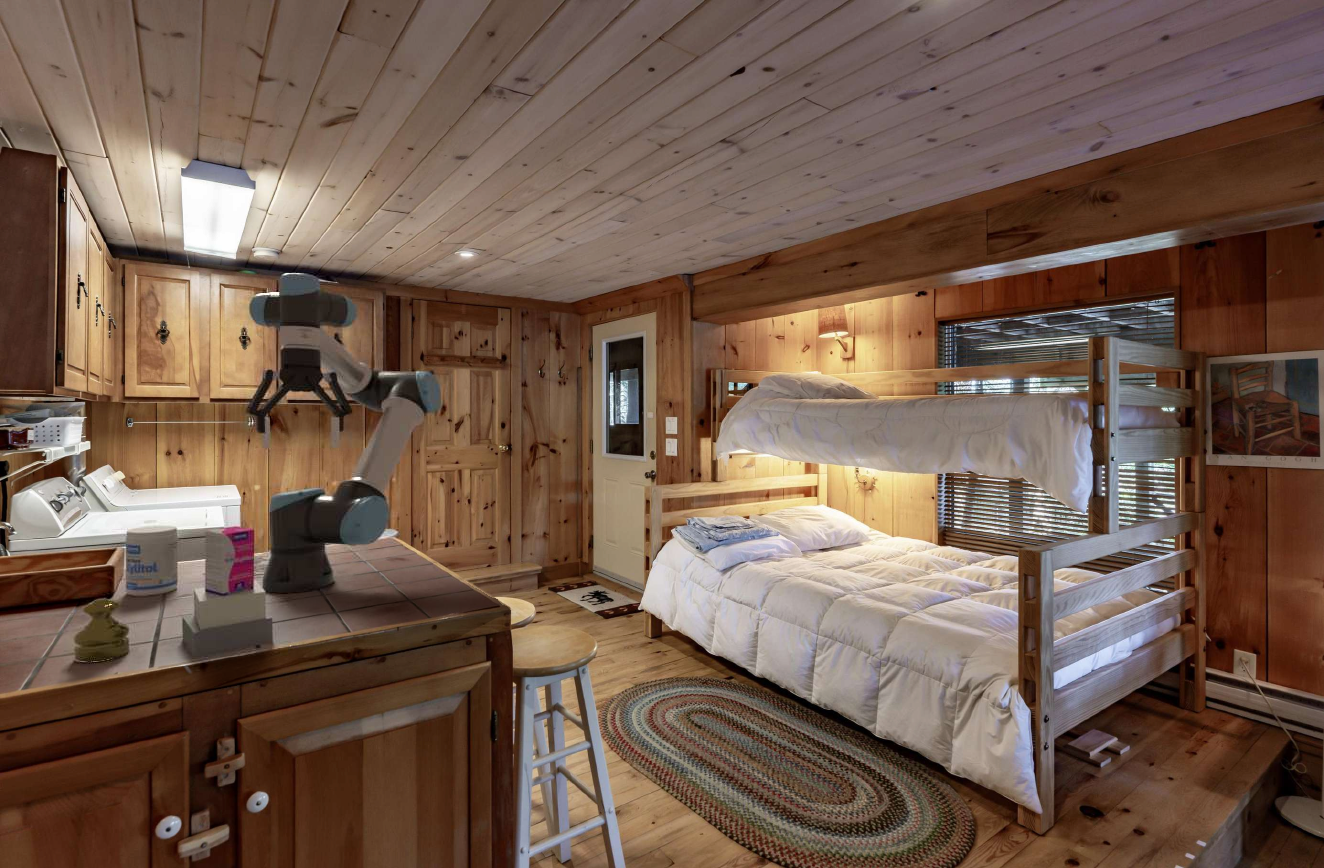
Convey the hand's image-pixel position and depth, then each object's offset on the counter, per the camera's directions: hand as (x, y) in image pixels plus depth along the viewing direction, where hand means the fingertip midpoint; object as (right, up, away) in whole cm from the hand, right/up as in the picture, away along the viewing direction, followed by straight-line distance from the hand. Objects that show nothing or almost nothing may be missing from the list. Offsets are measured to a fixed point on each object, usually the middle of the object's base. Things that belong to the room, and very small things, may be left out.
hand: (302, 447), depth 141 cm
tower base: (-4, -36, -18) cm, 41 cm away
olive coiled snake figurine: (-21, -36, -26) cm, 49 cm away
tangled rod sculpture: (-31, -33, +32) cm, 56 cm away
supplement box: (-3, -26, -19) cm, 32 cm away
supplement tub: (-42, -34, +12) cm, 55 cm away
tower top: (-3, -31, -18) cm, 36 cm away
